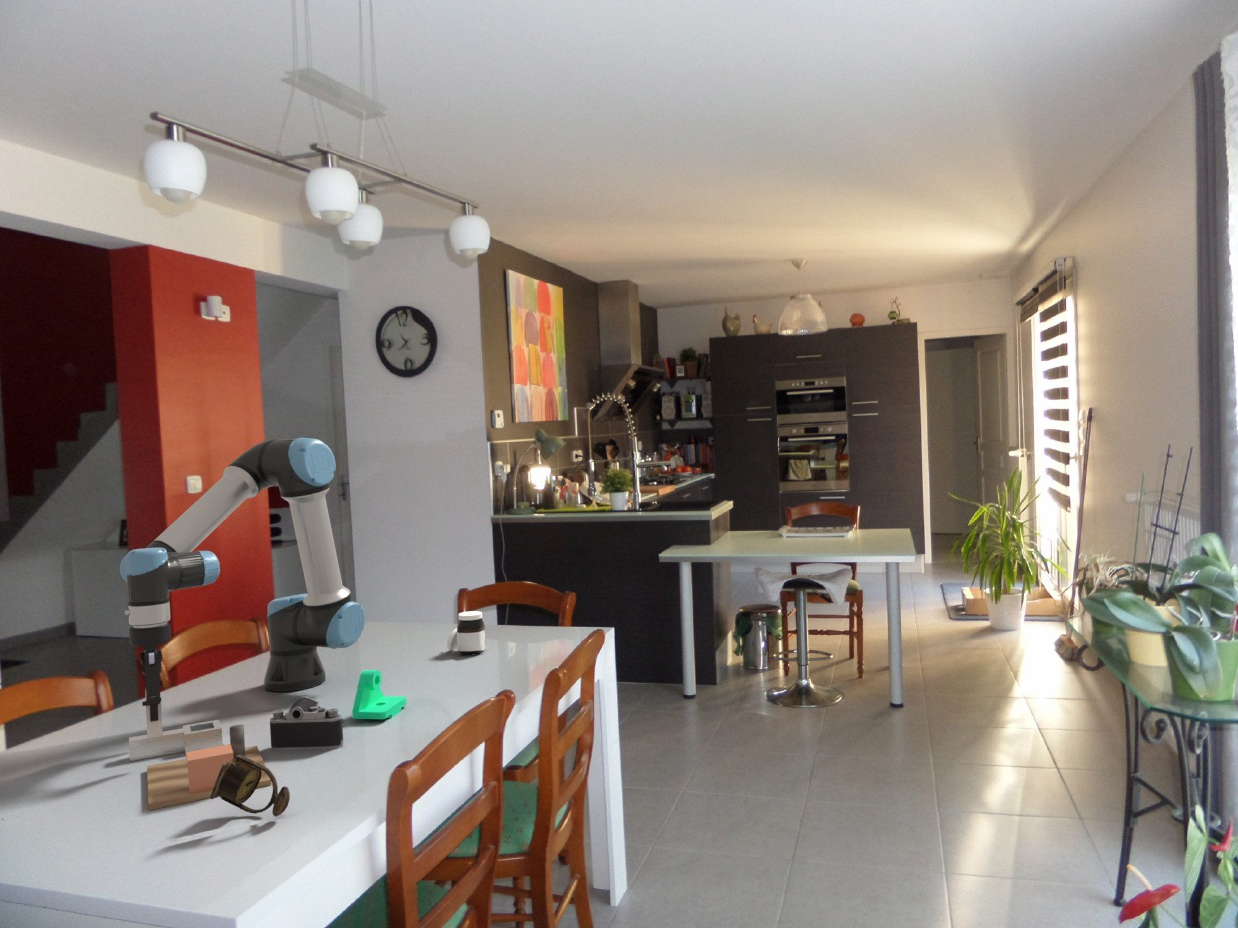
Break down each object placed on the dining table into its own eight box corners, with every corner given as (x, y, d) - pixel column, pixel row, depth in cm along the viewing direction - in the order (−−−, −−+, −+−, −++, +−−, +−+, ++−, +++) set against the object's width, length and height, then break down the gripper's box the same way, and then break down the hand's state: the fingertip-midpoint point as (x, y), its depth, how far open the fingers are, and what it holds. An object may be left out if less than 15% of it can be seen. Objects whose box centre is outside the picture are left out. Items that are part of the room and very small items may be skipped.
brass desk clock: (224, 806, 158) (220, 749, 157) (300, 801, 159) (296, 744, 158) (209, 824, 151) (205, 764, 150) (288, 818, 152) (285, 759, 151)
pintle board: (147, 770, 177) (145, 735, 177) (257, 750, 187) (255, 716, 186) (148, 809, 158) (146, 770, 158) (271, 784, 167) (269, 747, 167)
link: (130, 764, 182) (128, 744, 181) (130, 753, 188) (128, 734, 188) (222, 747, 190) (221, 728, 189) (219, 737, 196) (218, 719, 196)
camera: (355, 735, 193) (352, 689, 193) (340, 749, 185) (338, 700, 185) (284, 737, 195) (281, 690, 194) (266, 750, 186) (263, 702, 186)
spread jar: (482, 657, 258) (480, 616, 258) (442, 658, 258) (440, 617, 258) (489, 647, 270) (487, 608, 270) (451, 648, 270) (449, 609, 270)
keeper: (187, 783, 167) (186, 751, 167) (232, 774, 170) (230, 743, 170) (189, 793, 162) (187, 760, 162) (235, 783, 166) (233, 752, 165)
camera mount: (384, 724, 201) (382, 677, 201) (352, 723, 203) (350, 677, 202) (408, 707, 213) (406, 663, 212) (378, 706, 214) (375, 663, 214)
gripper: (129, 617, 195) (133, 715, 196) (128, 636, 173) (133, 747, 174) (168, 613, 199) (172, 709, 199) (172, 631, 177) (177, 740, 177)
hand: (154, 727), depth 186 cm, fingers open, 13 cm apart
